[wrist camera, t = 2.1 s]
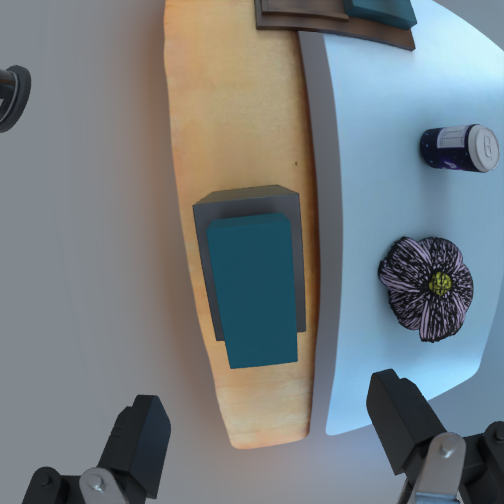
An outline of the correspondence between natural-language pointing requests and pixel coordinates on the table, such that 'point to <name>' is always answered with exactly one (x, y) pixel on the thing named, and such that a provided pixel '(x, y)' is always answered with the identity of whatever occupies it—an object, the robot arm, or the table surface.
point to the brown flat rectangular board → (342, 18)
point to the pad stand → (249, 205)
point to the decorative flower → (427, 286)
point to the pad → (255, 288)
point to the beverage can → (461, 148)
